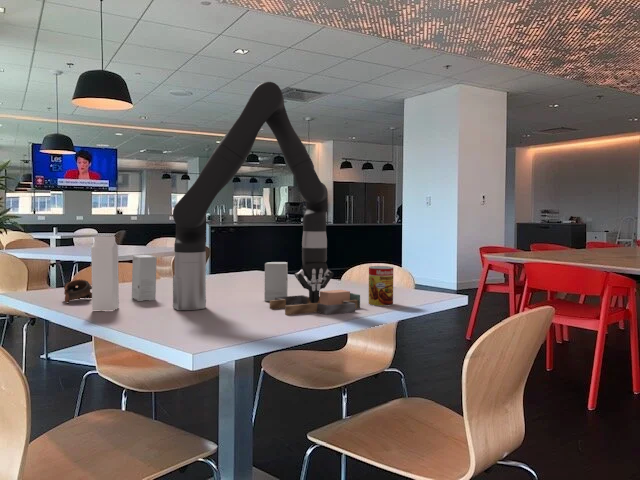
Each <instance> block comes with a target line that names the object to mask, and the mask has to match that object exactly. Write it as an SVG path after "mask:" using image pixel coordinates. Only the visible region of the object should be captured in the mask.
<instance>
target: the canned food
mask: <svg viewBox="0 0 640 480" xmlns="http://www.w3.org/2000/svg"><path fill="white" fill-rule="evenodd" d="M369 304H370V305H369ZM368 305H369V306H373V305H374V306H375V307H389V306H388V305H391V306H393V305H394V267H393V266H388V265H374V266H368Z"/></svg>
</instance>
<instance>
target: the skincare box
mask: <svg viewBox="0 0 640 480" xmlns="http://www.w3.org/2000/svg"><path fill="white" fill-rule="evenodd" d="M157 259H158V257H157V256H153V255H149V254H133V255H132V270H131V272H132V273H131V274H132V275H131V299H133V298H134V299H133V300H136V299H137V300H136V301H137V302H144V301H143V300H149V301H156V297H157V294H156V293H157V289H156V288H157Z"/></svg>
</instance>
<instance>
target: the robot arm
mask: <svg viewBox="0 0 640 480" xmlns="http://www.w3.org/2000/svg"><path fill="white" fill-rule="evenodd" d="M265 123H266V124H267V125H268V127H269V129H270V130H271V132H272V133H273V136H274V137H275V139H276V141H277V144H278V146H279V147H280V151H281V153H282V155H283V157H284V159H285V162H286V164H287V165H288V167H289V169H290V171H291V173H292V175H293V177H294V179H295V182H296V185H297V187H298V191H299V192H300V195H301V197H302V198H303V200H305V213H303V218H302V220H303V221H302V222H303V223H302V226H303V227H302V237H301V238H302V239H301V240H302V241H301V246H302V247H301V251H302V252H301V261H302V265H301V267H300V270H299V271H298V272H295V273H294V278H296V279H297V281H298V283H299V284H300V285H301V286H302V288H303V289H304V290H307V291H308V297H309V301H310V302H311V303H318V301H319V297H320V291H321V290H322V289H325V288H326V287H327V286H328V284H329V282H330V280H331V279H332V278H333V276H334V272H333V271H331V270H330V269H328V265H327V260H328V256H327V255H328V249H327V248H328V238H327V210H328V201H329V199H328V198H329V196H328V195H329V193H328V188H327V187H326V185H325V184H324V182H321V180H320V178H319V176H318V174H317V172H316V170H315V165H314V163H313V159H311V156H310V154H309V152H308V151H307V149H306V146H305V145H304V144H303V142H302V140H301V139H300V137H299V136H298V133H296V131H295V129H294V127H293V125H292V124H291V121H290V119H289V115H288V113H287V110H286V106H285V99H284V95H283V91H282V89H281V88H280V86H279V85H278V84H277V83H276V82H274V81H265V82H262V83H260V84H258V85H257V86H256V87H255V88H254V89H253V92H252V94H251V95H250V97H249V98H248V101H247V102H246V104H245V106H244V107H243V109H242V111H241V113H240V114H239V116H238V118H237V119H236V120H235V121H234V123H233V124H232V125H231V127H230V128H228V131H227V132H226V133H225V135H224V136H223V138H222V139H221V140H220V142H219V143H218V144H217V146H216V147H215V148H214V150H213V151H212V153H211V155H210V156H209V158H208V159H207V161H206V163H205V164H204V166H203V168H202V169H201V171H200V172H199V175H198V177H197V178H196V180H195V182H194V183H193V184H192V185H191V187H190V188H189V189H188V190H187V191H186V193H184V195H183V196H182V197H181V198H180V199H179V201H177V203H176V204H175V206H173V207H174V208H173V210H172V219H173V221H174V223H175V241H174V244H173V245H174V250H173V251H174V276H172V307H173V309H175V310H177V311H196V310H203V309H206V308H207V280H206V279H207V277H206V276H207V273H206V272H207V271H206V270H207V269H206V267H207V263H206V260H207V257H206V255H207V253H206V248H207V246H206V245H207V212H208V210H209V208H210V206H211V204H212V203H213V202H214V200H215V198H216V197H217V195H218V194H219V193H220V192H221V191H222V190H223V189H224V188H225V187H226V186H227V185H228V184H229V182H230V181H232V179H233V178H234V177H235V176H236V174H237V173H238V172H239V171H240V169H241V167H242V166H243V165H244V163H245V161H246V160H247V158H248V157H249V154H250V153H251V150H252V149H253V146H254V144H255V141H256V139H257V136H258V134H259V132H260V130H261V129H262V127H263V126H264V124H265Z"/></svg>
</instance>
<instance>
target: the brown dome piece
mask: <svg viewBox="0 0 640 480" xmlns="http://www.w3.org/2000/svg"><path fill="white" fill-rule="evenodd" d="M63 287H64V288H63V289H64V294H63V295H65V296H64V303H66V302H69V303H70V302H71V301H73V300H78V299H80V298H84V299H90V298H92V291H91V290H92V284H91V283H89V281H87V280H85V279H80V278H79V279H74V280H71V281H69V282H66V283H64V285H63ZM80 300H81V299H80Z"/></svg>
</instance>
